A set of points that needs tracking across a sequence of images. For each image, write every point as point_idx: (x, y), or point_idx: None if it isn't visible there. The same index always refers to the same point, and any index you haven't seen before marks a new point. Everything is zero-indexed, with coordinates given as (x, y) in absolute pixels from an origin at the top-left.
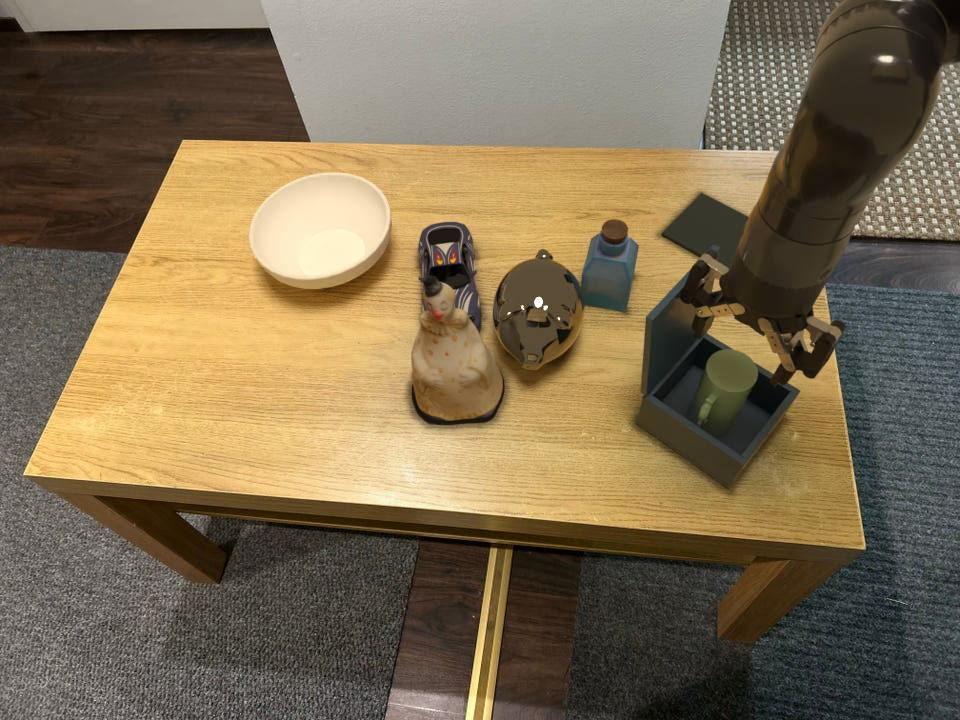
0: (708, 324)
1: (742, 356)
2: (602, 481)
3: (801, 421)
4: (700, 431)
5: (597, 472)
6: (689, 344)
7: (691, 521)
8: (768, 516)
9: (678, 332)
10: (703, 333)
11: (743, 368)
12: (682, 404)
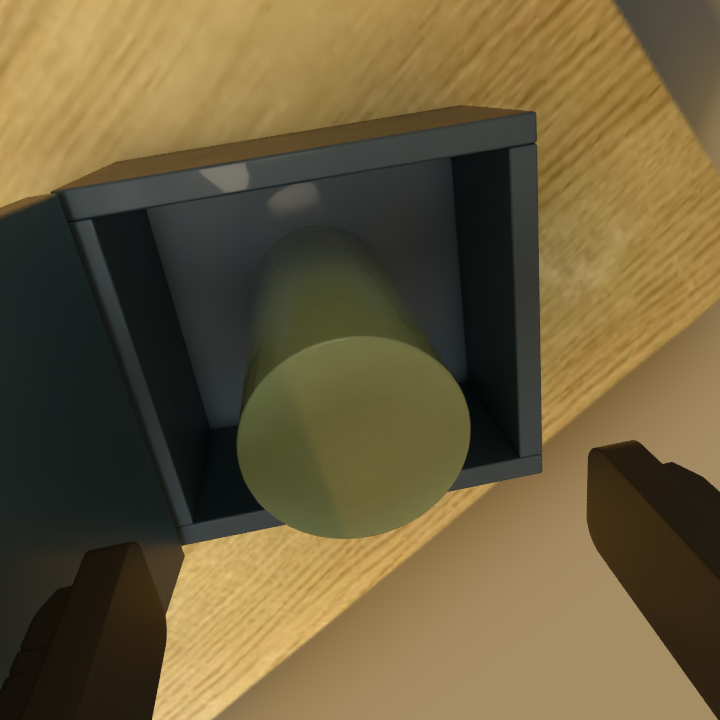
0: (129, 666)
1: (338, 359)
2: (272, 575)
3: (510, 64)
4: None
5: (248, 572)
6: (94, 328)
7: (468, 492)
8: (586, 361)
9: (43, 568)
10: (152, 633)
11: (386, 403)
12: (236, 322)
